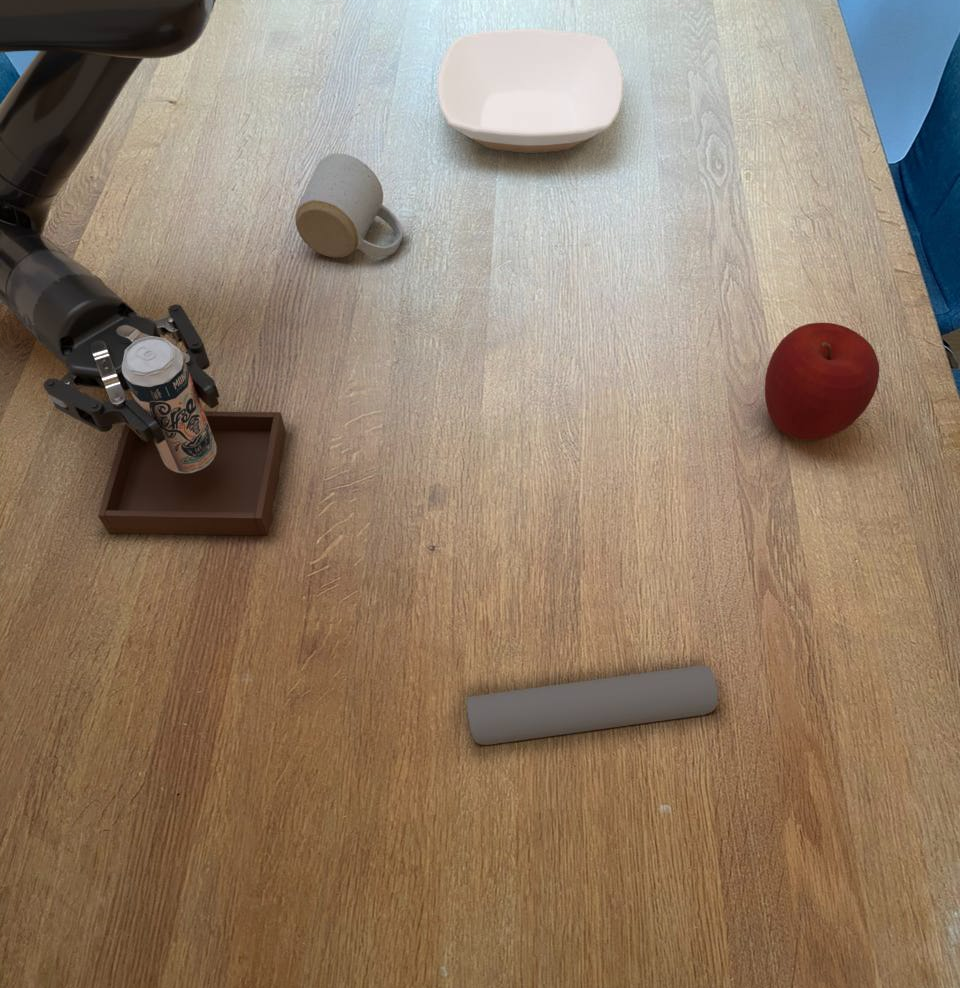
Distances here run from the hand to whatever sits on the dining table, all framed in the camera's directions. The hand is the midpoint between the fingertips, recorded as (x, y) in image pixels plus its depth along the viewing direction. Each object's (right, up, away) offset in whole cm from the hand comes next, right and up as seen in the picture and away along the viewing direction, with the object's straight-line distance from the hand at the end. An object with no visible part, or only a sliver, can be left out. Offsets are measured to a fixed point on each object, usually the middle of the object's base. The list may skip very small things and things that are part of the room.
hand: (185, 416), depth 76 cm
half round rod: (+33, -23, -2) cm, 40 cm away
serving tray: (-2, -4, +10) cm, 11 cm away
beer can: (-2, -2, +7) cm, 8 cm away
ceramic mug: (+10, +25, +27) cm, 38 cm away
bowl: (+30, +44, +38) cm, 65 cm away
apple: (+54, +2, +13) cm, 56 cm away
